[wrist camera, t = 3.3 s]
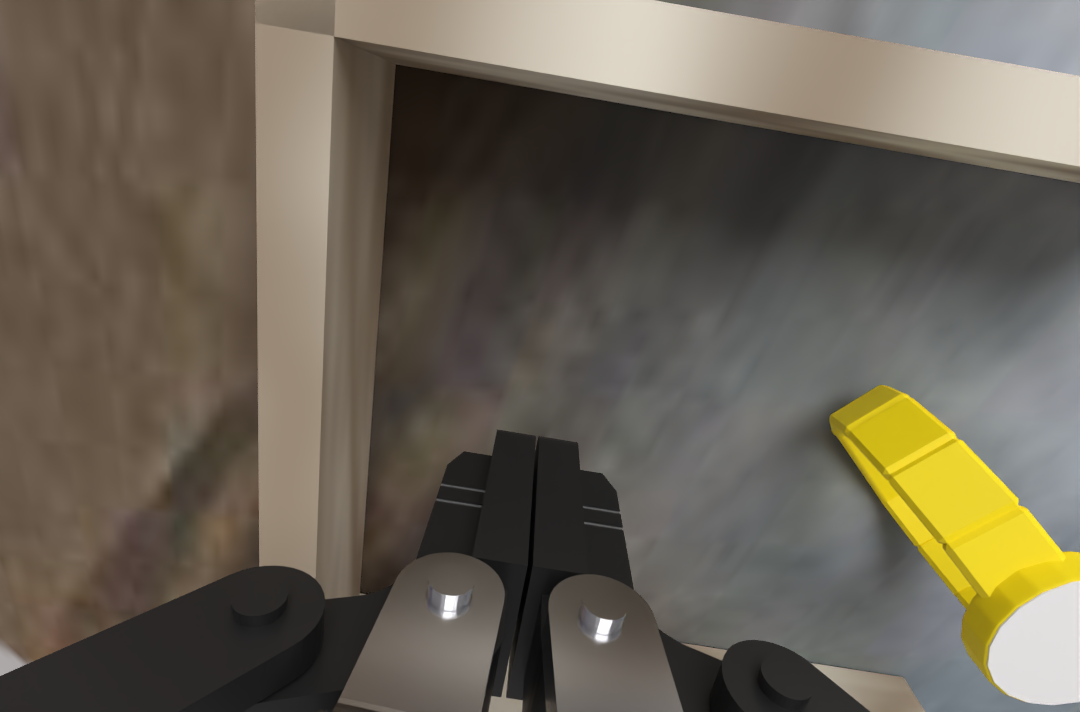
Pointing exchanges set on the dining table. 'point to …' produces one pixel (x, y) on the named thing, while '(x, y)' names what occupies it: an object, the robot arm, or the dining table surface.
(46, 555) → the dining table surface
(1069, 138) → the open wooden frame
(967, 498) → the watch
